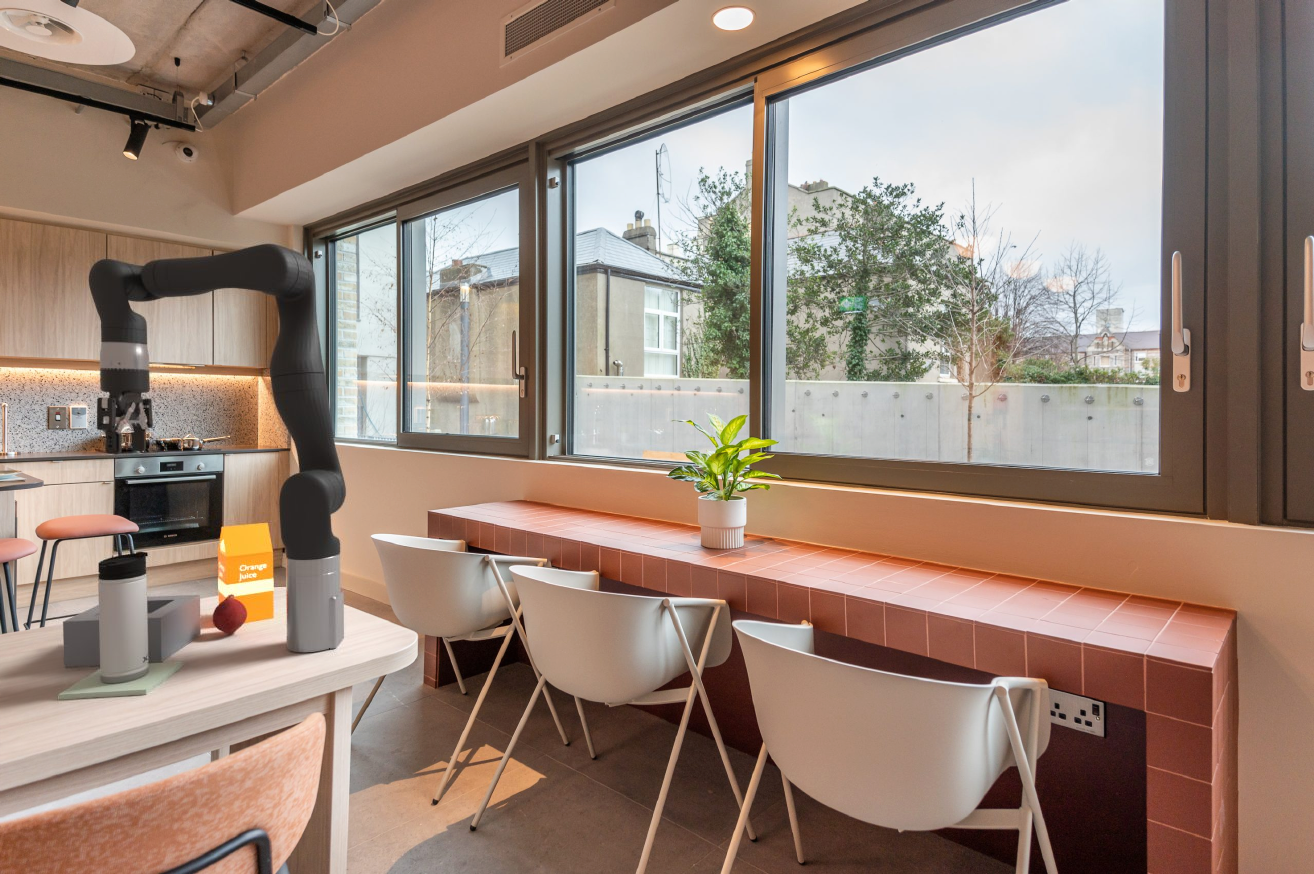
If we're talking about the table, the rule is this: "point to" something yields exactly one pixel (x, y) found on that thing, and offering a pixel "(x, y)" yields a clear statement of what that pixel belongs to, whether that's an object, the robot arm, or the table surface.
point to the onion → (229, 615)
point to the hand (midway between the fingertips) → (126, 452)
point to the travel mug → (123, 618)
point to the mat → (141, 686)
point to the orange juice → (247, 569)
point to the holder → (167, 630)
